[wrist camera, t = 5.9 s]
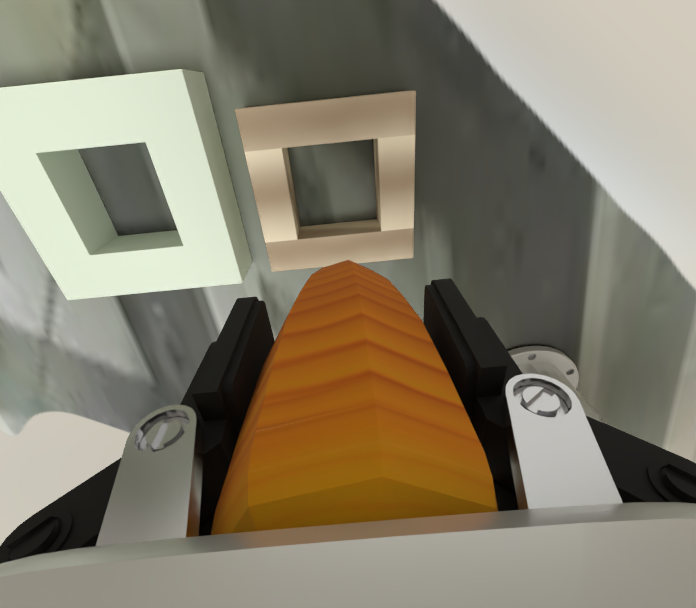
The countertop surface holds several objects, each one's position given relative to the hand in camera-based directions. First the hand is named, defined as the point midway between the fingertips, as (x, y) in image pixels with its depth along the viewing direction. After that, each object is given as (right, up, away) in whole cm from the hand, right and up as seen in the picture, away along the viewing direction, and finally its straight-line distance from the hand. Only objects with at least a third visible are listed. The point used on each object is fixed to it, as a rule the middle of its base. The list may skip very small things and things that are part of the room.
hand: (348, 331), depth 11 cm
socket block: (-1, +10, +16) cm, 20 cm away
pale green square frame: (-16, +10, +16) cm, 25 cm away
